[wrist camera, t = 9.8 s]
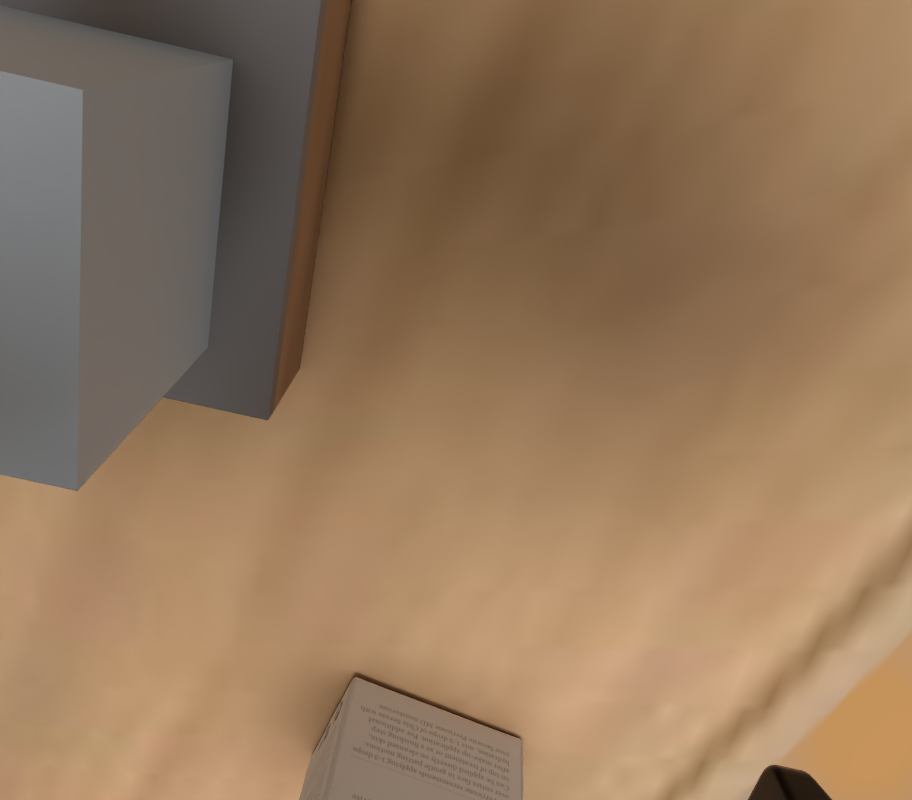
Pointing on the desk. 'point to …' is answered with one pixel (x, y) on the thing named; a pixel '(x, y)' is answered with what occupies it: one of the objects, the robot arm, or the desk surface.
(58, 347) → the cube
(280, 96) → the base
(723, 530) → the desk surface
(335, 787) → the skincare box
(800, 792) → the robot arm
